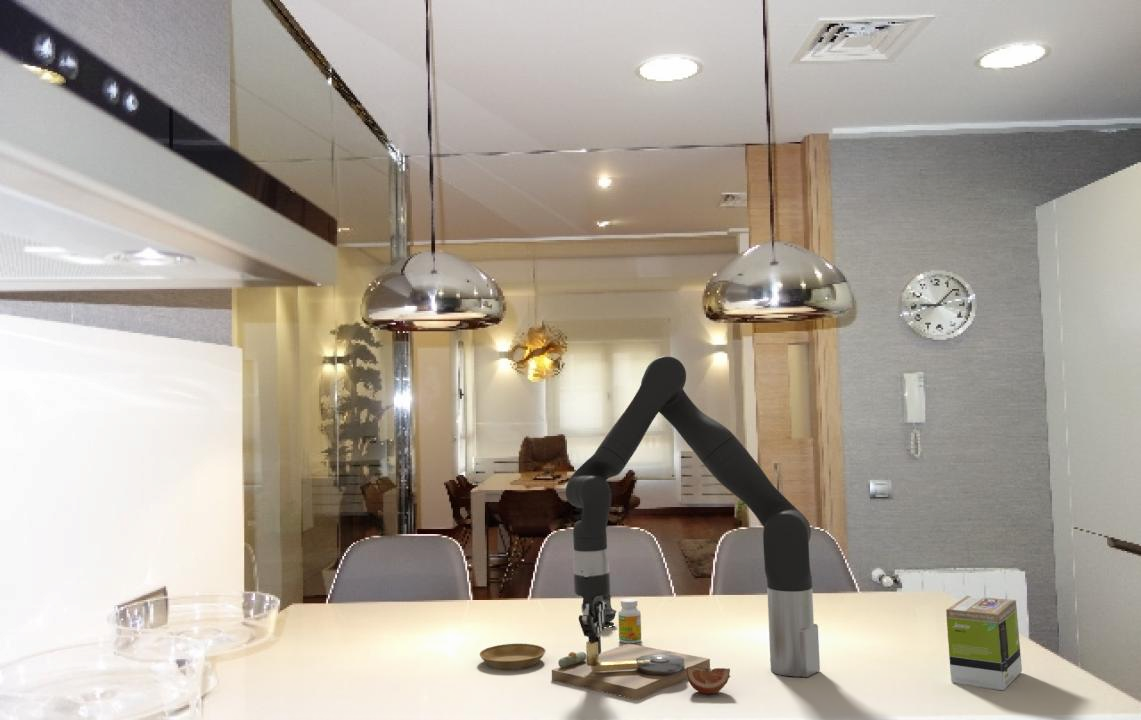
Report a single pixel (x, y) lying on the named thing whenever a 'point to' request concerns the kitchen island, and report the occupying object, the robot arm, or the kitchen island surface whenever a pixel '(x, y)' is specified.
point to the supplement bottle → (629, 621)
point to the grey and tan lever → (636, 662)
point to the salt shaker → (609, 611)
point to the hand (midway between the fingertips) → (595, 654)
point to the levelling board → (622, 672)
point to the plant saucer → (512, 655)
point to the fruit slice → (707, 679)
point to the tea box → (984, 642)
